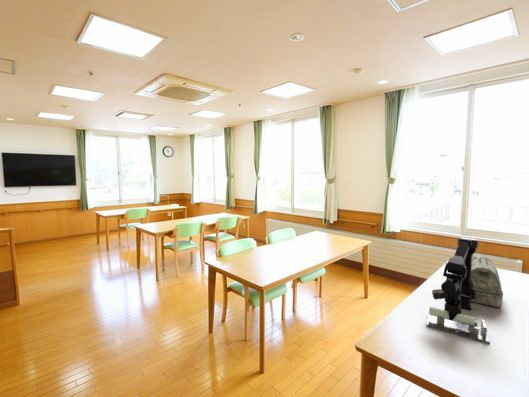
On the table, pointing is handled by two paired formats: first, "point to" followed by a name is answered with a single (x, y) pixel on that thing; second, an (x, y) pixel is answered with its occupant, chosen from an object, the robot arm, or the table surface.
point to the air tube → (458, 318)
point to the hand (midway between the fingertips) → (450, 317)
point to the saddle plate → (460, 328)
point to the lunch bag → (486, 282)
